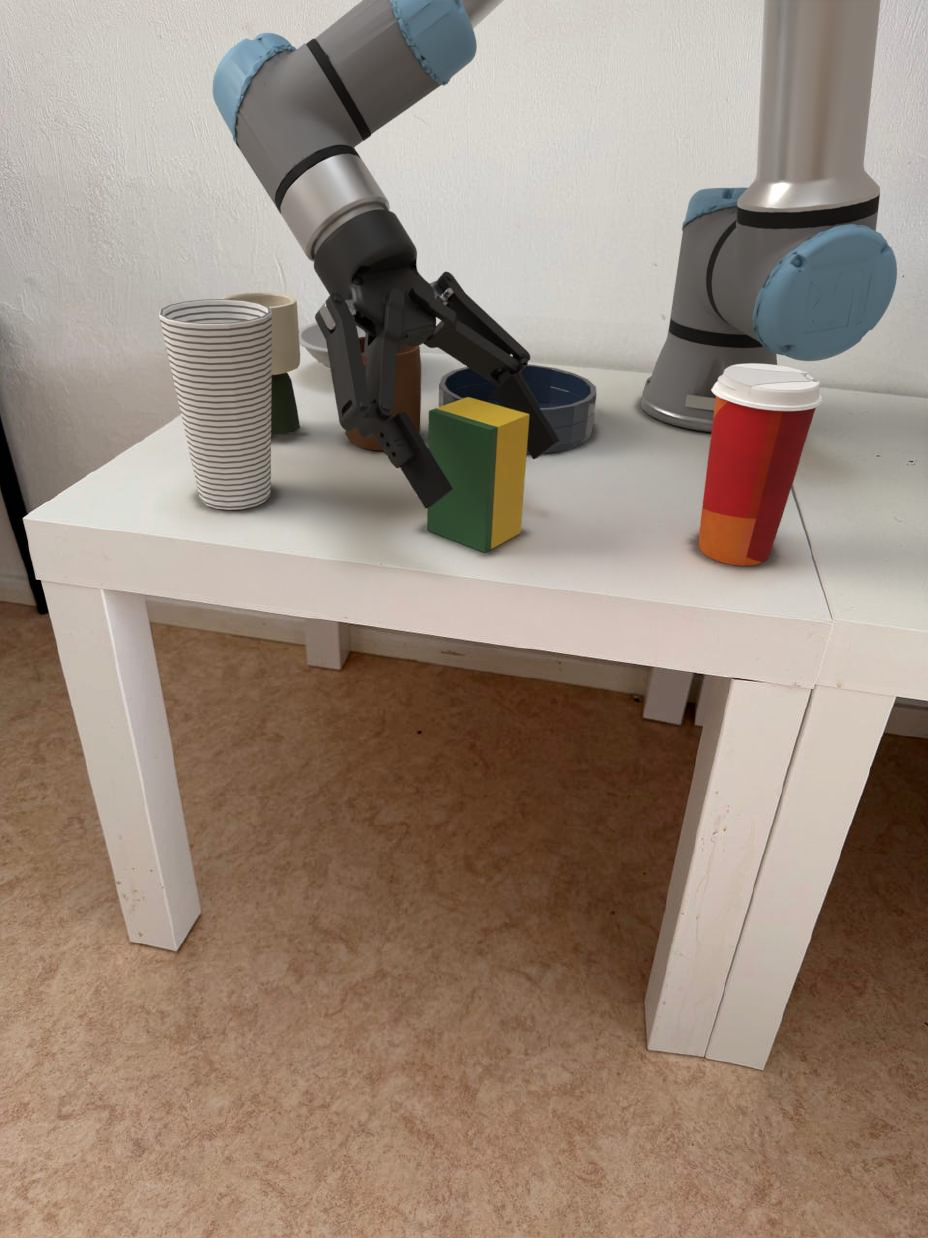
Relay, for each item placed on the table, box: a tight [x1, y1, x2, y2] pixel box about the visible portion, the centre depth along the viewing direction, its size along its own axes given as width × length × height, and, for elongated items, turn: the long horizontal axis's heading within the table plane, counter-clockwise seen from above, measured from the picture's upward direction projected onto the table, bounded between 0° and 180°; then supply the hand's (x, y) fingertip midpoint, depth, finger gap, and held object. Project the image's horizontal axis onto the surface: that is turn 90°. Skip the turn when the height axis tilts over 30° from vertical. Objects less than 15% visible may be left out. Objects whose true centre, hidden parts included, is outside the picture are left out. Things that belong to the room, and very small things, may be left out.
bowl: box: [437, 363, 598, 455], centre depth 93 cm, size 16×16×4 cm
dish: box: [299, 321, 365, 369], centre depth 107 cm, size 18×14×5 cm
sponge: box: [426, 397, 529, 554], centre depth 70 cm, size 5×6×10 cm
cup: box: [158, 298, 272, 511], centre depth 72 cm, size 8×8×16 cm
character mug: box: [221, 292, 301, 436], centre depth 87 cm, size 11×7×13 cm, turn 167°
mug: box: [344, 337, 422, 452], centre depth 86 cm, size 12×8×9 cm, turn 162°
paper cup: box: [698, 363, 823, 567], centre depth 67 cm, size 8×8×14 cm
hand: (496, 473), depth 68 cm, fingers open, 13 cm apart
